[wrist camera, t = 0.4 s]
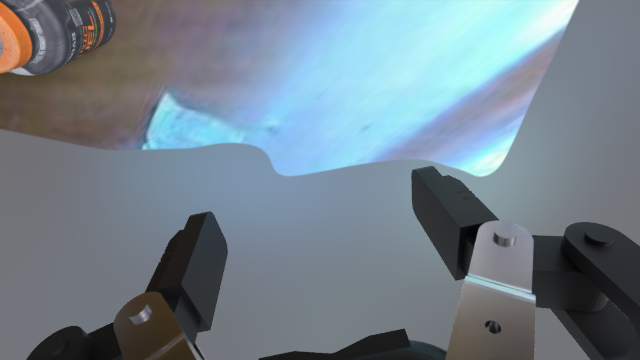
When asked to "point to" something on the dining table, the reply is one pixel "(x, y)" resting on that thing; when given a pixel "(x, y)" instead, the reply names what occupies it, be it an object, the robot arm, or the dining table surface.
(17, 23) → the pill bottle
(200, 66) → the dining table surface
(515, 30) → the dining table surface
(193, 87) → the dining table surface
